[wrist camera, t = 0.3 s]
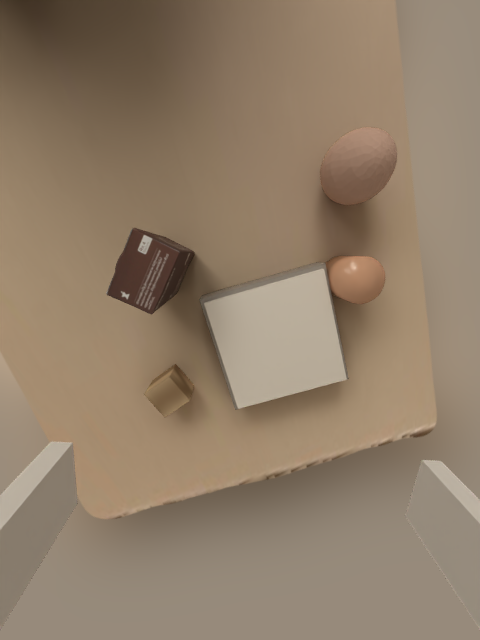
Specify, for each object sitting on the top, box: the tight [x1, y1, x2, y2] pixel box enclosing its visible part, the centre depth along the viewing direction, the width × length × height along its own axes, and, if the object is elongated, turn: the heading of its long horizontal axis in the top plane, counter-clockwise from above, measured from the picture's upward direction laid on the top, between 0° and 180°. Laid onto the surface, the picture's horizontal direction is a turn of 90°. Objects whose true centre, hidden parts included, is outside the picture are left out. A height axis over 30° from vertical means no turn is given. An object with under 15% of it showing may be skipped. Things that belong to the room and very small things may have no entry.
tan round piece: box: [326, 256, 385, 304], centre depth 31 cm, size 5×5×6 cm
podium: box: [199, 262, 349, 410], centre depth 34 cm, size 15×15×4 cm
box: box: [106, 228, 194, 314], centre depth 28 cm, size 6×4×12 cm
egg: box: [320, 127, 397, 205], centre depth 27 cm, size 7×7×9 cm
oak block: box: [144, 364, 194, 417], centre depth 35 cm, size 4×4×4 cm
